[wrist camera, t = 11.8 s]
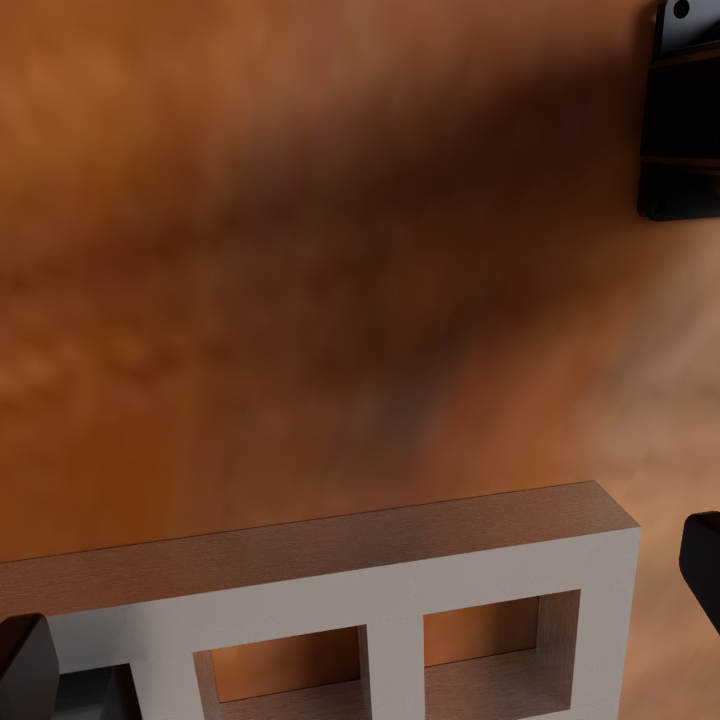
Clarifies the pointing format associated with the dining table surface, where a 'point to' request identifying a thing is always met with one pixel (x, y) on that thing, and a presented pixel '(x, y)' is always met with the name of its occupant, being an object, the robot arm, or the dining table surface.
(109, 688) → the graphite block
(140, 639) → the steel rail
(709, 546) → the robot arm
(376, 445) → the dining table surface
